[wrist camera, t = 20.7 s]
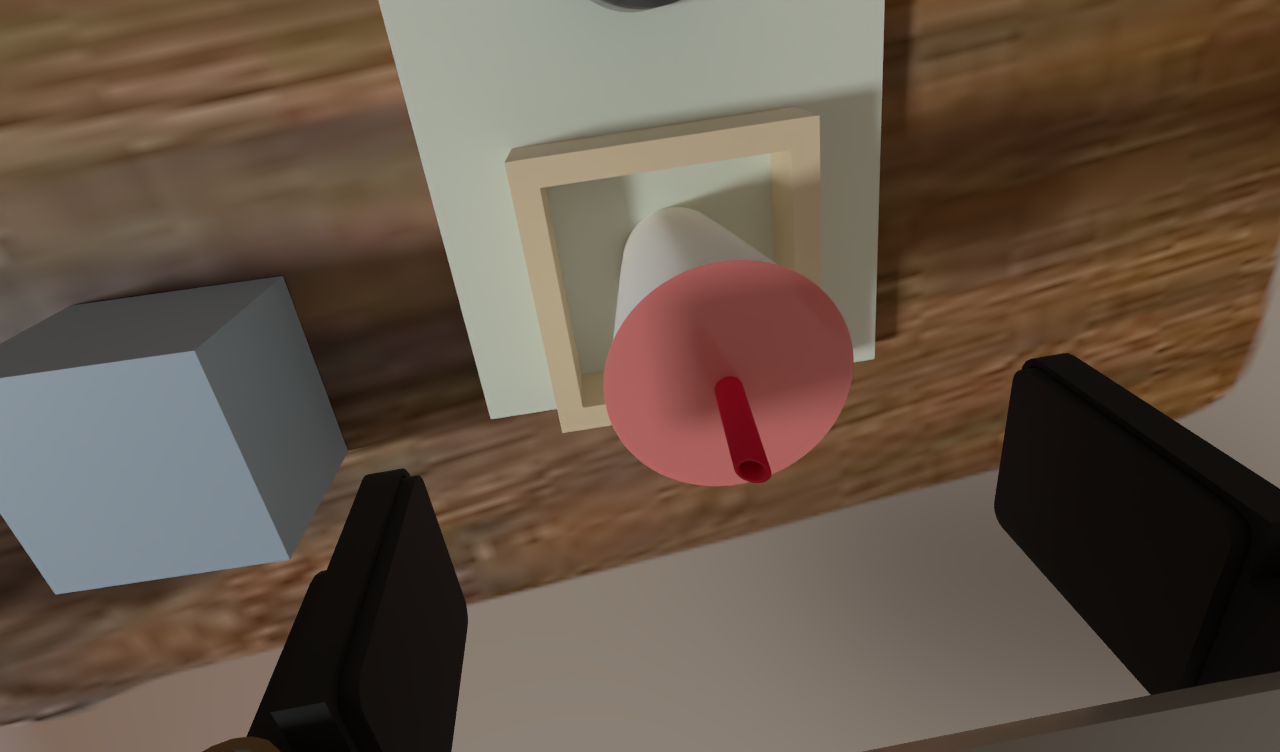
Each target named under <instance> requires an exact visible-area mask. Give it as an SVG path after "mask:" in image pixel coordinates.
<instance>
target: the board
mask: <svg viewBox="0 0 1280 752" xmlns="http://www.w3.org/2000/svg"><path fill="white" fill-rule="evenodd" d="M379 4H380V8H381V12H382V15H383V19H384V23H385V26H386V30H387V34H388V38H389V41H390V45H391V49H392V53H393V56H394V60H395V64H396V68H397V71H398V75H399V79H400V82H401V86H402V90H403V94H404V97H405V101H406V105H407V109H408V112H409V116H410V120H411V124H412V127H413V131H414V135H415V138H416V142H417V146H418V150H419V153H420V157H421V161H422V165H423V168H424V172H425V176H426V180H427V183H428V187H429V191H430V194H431V198H432V202H433V206H434V209H435V213H436V217H437V221H438V224H439V228H440V232H441V236H442V239H443V243H444V247H445V250H446V254H447V258H448V262H449V265H450V269H451V273H452V277H453V280H454V284H455V288H456V292H457V295H458V299H459V303H460V306H461V310H462V314H463V318H464V321H465V325H466V329H467V333H468V336H469V340H470V344H471V348H472V351H473V355H474V359H475V362H476V366H477V370H478V374H479V377H480V381H481V385H482V389H483V392H484V396H485V400H486V404H487V407H488V411H489V415H490V418H491V419H496V418H502V417H509V416H515V415H521V414H528V413H534V412H540V411H547V410H553V409H557V410H558V415H559V419H560V424H561V429H562V433H566V432H572V431H578V430H585V429H591V428H597V427H604V426H610V425H612V423H611V421H610V418H609V416H608V412H607V409H606V404H605V399H604V371H605V365H606V360H607V356H608V353H609V350H610V347H611V344H612V342H613V338H614V328H615V318H616V308H617V299H618V290H619V281H620V272H621V265H622V258H623V251H624V247H625V244H626V241H627V239H628V237H629V235H630V233H631V231H632V230H633V229H634V227H635V226H636V225H637V224H638V223H639V222H640V221H641V220H642V219H644V218H645V217H646V216H648V215H649V214H651V213H653V212H655V211H658V210H661V209H664V208H669V207H684V208H689V209H693V210H696V211H698V212H700V213H702V214H704V215H705V216H707V217H708V218H710V219H711V220H713V221H715V222H716V223H718V224H719V225H721V226H722V227H724V228H725V229H727V230H728V231H730V232H731V233H733V234H734V235H736V236H737V237H738V238H740V239H741V240H743V241H744V242H746V243H747V244H749V245H750V246H751V247H753V248H754V249H756V250H757V251H759V252H760V253H762V254H763V255H764V256H766V257H767V258H769V259H770V260H772V261H773V262H774V263H776V264H777V265H779V266H783V267H785V268H788V269H790V270H793V271H795V272H797V273H799V274H801V275H803V276H804V277H806V278H808V279H809V280H811V281H812V282H813V283H815V284H816V285H817V286H819V287H820V288H821V289H822V290H823V291H824V292H825V293H826V294H827V295H828V296H829V297H830V298H831V300H832V301H833V302H834V303H835V305H836V306H837V308H838V309H839V311H840V312H841V314H842V316H843V318H844V320H845V322H846V325H847V327H848V330H849V333H850V337H851V341H852V346H853V356H854V362H858V361H865V360H871V359H874V357H875V322H876V288H877V253H878V218H879V183H880V149H881V114H882V79H883V44H884V10H885V0H680V1H677V2H675V3H672V4H668V5H665V6H661V7H658V8H654V9H650V10H646V11H641V12H630V13H629V12H619V11H614V10H610V9H607V8H604V7H602V6H599V5H598V4H596V3H594V2H592V1H590V0H379Z"/></svg>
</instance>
